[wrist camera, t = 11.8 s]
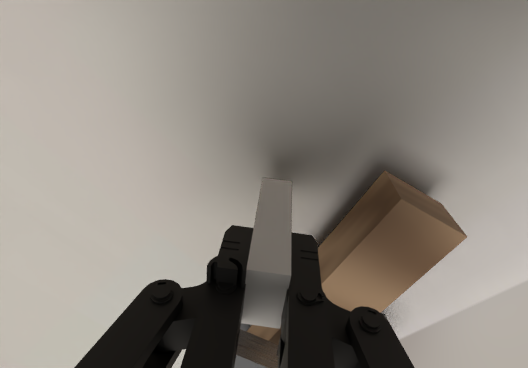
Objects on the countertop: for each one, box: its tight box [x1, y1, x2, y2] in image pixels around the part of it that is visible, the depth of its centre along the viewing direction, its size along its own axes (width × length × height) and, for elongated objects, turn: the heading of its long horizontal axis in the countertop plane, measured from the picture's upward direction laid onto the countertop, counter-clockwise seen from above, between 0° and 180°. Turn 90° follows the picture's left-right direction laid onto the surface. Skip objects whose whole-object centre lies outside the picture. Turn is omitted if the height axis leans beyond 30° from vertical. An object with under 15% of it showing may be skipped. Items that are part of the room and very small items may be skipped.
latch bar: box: [247, 171, 467, 345], centre depth 20 cm, size 22×6×5 cm, turn 150°
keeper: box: [234, 314, 387, 368], centre depth 21 cm, size 12×4×8 cm, turn 61°
